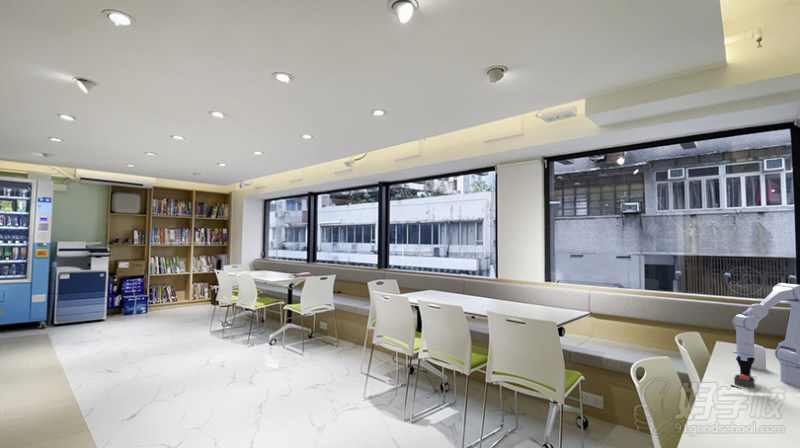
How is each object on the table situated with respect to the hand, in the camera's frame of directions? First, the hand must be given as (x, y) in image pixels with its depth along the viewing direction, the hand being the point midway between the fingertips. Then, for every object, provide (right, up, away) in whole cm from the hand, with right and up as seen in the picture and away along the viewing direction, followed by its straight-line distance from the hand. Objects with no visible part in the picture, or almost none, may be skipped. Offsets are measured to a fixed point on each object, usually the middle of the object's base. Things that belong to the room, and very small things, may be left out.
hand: (745, 374), depth 163 cm
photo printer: (+23, -6, +22) cm, 32 cm away
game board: (+2, -4, +2) cm, 5 cm away
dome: (-5, -2, -5) cm, 7 cm away
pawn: (0, -2, 0) cm, 2 cm away
